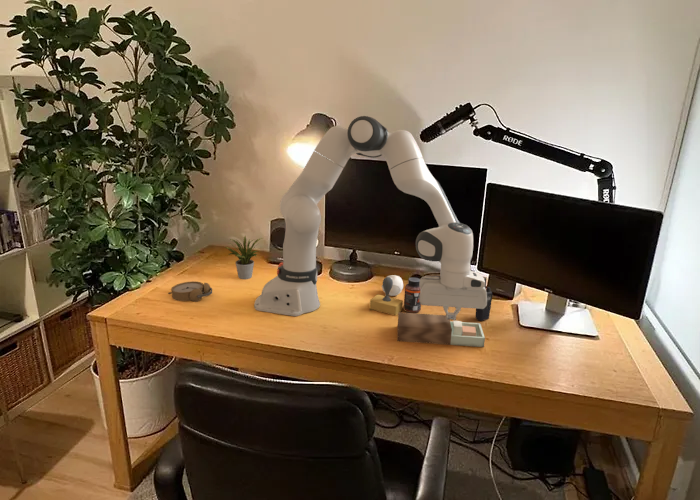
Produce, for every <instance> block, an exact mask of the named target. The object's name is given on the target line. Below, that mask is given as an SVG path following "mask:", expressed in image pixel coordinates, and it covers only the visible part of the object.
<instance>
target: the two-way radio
mask: <svg viewBox="0 0 700 500" xmlns="http://www.w3.org/2000/svg"><path fill="white" fill-rule="evenodd" d="M484 280H485V286H484V287H485V289H486V292H487V306H486V307H485V308H484V309H477V308H475V316H474V317H475V320H477V321H480V322H482V321H486V320H488V319H490V313H491V309H492V301H493V291H492V290H491V287H490V286H487V277H484ZM486 286H487V287H486Z"/></svg>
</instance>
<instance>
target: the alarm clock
mask: <svg viewBox="0 0 700 500" xmlns="http://www.w3.org/2000/svg"><path fill="white" fill-rule="evenodd" d="M170 289H171V290H170V292H168V295H172V296H171V298H172V300H174V301H178V302H187V301H188V302H189V301H191V302H194V303H196V302H200V301H201V300H202V298H205V297H208V296H211V295H212V294H213V288H212V287H211V285H210V284H209V283H208V282H204V283H203V282H201V281H193V280H192V281H184V282H181V283H178V284H175V285H173V286H172V287H171V288H170Z"/></svg>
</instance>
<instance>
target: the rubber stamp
mask: <svg viewBox="0 0 700 500" xmlns="http://www.w3.org/2000/svg"><path fill="white" fill-rule="evenodd" d="M382 285H383V288H384V291H385V292H384V291H383V292H384V295H383V294H382V295H381V294H376V295H374V296H373V297H372V298H371V299H370V300H369V310H372V311H376V312H380V313H384V314H388V315H390V316H391V315H392V316H398V312H403V307H404V300H402V299H399V298H393V297H392V296H390V295H389V292H390V290H391V288H392V285H393V281H392V279H391V278H390V277H387V276H386V277H385V278H384V279H383V280H382Z"/></svg>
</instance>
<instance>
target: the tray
mask: <svg viewBox="0 0 700 500" xmlns="http://www.w3.org/2000/svg"><path fill="white" fill-rule="evenodd" d="M461 322H462V326H470V327H475V329H476V337H474V336H462V335H461V336H459V335H453V332H452V334H451V344H450V346H460V347H461V346H462V347H463V346H465V347H476V348H479V347H480V348H484V347H485V340H486V337H485V334H484V331H483V327H482V324H481V323H479V322H464V321H461ZM450 323H451V328H453V320H452V321H451V320H450Z"/></svg>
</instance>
